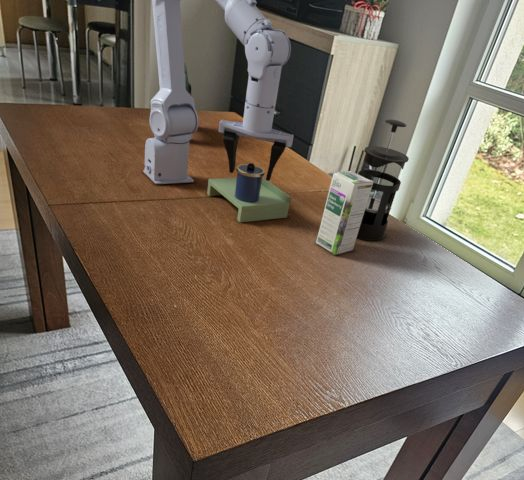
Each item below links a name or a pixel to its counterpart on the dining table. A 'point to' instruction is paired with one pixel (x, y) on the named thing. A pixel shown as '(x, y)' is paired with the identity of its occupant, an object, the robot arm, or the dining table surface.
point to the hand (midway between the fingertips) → (250, 175)
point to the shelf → (267, 207)
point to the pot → (248, 182)
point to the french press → (380, 187)
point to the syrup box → (343, 211)
